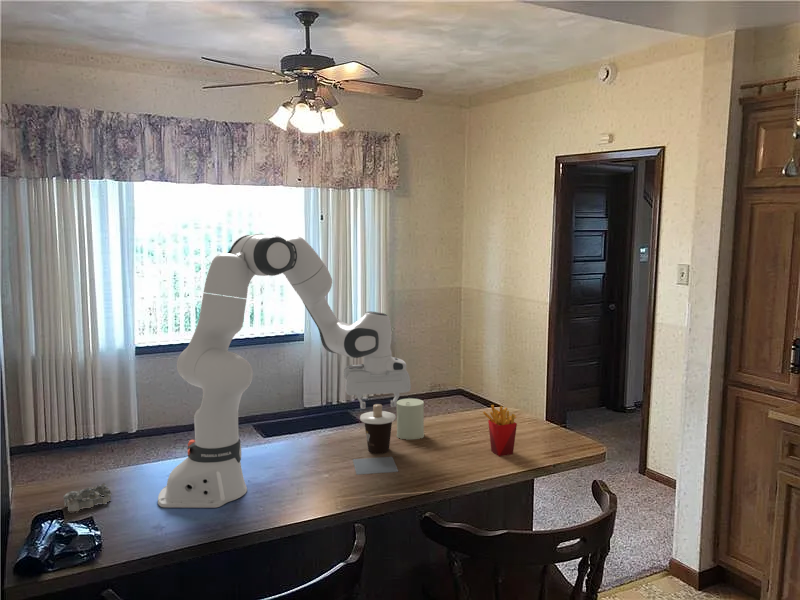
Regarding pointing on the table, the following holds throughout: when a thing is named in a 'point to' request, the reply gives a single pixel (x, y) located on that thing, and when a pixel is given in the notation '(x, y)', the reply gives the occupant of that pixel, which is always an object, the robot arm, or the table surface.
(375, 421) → the lid
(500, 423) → the french fries
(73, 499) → the egg carton
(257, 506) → the table surface
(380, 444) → the dark brown two-tone container
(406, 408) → the can
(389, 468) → the mat
